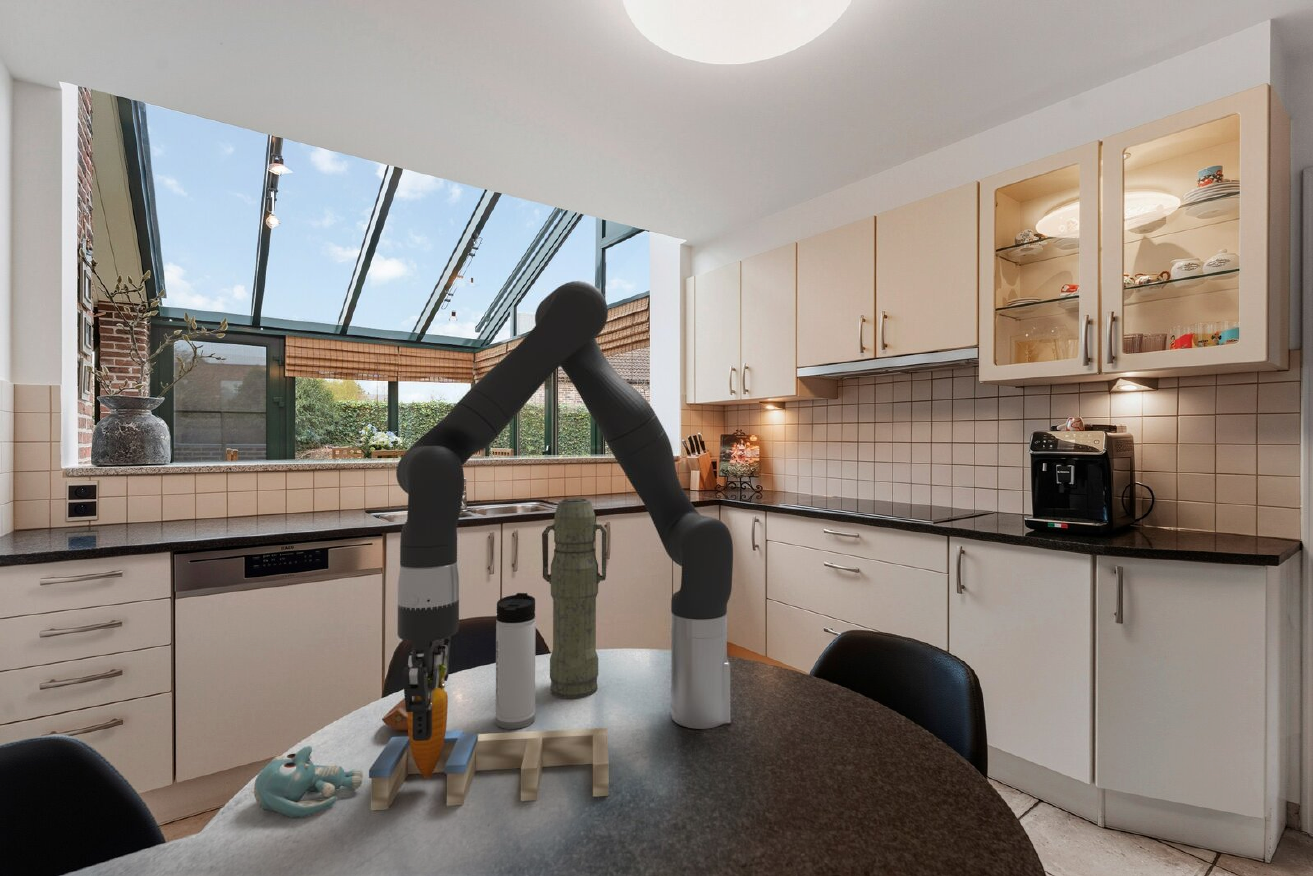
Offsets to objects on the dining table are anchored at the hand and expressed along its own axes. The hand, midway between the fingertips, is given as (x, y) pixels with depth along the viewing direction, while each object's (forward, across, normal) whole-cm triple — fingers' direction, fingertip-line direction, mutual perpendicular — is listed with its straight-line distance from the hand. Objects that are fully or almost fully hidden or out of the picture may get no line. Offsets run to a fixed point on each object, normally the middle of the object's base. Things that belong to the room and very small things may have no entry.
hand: (428, 729), depth 78 cm
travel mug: (+8, +19, -9) cm, 22 cm away
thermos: (+8, +31, -18) cm, 37 cm away
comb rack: (+8, 0, -9) cm, 12 cm away
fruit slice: (+8, +18, +8) cm, 21 cm away
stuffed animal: (+8, -1, +14) cm, 16 cm away
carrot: (+7, 0, 0) cm, 7 cm away
